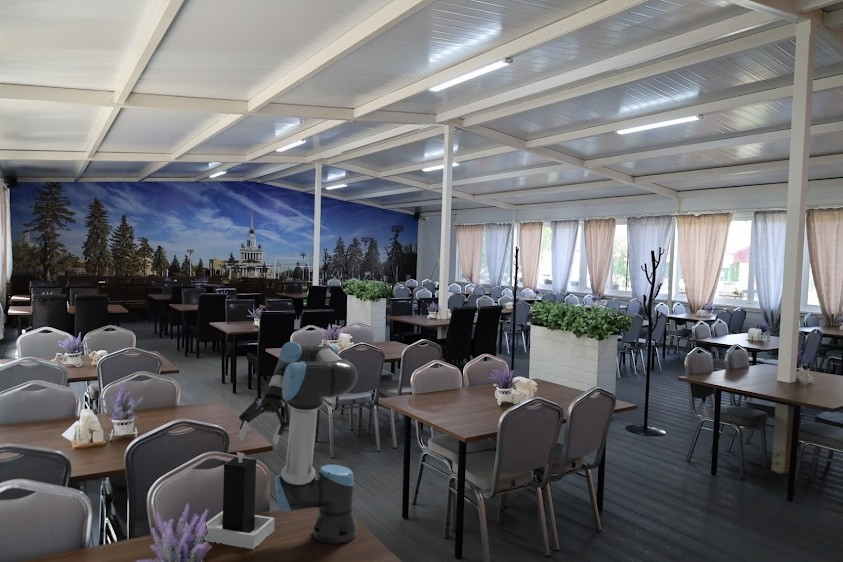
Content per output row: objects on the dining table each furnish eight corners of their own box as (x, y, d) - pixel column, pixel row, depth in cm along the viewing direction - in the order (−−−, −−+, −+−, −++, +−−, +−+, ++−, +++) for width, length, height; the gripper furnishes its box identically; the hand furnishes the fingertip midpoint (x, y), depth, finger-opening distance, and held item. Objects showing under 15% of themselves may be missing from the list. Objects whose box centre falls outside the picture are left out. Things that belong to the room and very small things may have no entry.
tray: (274, 530, 208) (274, 518, 208) (253, 549, 194) (253, 535, 194) (223, 522, 212) (223, 510, 212) (199, 540, 199) (200, 526, 199)
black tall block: (242, 539, 198) (245, 457, 197) (221, 536, 200) (223, 454, 199) (254, 529, 206) (256, 450, 205) (234, 526, 208) (236, 447, 206)
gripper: (310, 398, 226) (292, 449, 213) (251, 392, 232) (230, 441, 219) (304, 387, 221) (285, 439, 207) (244, 381, 227) (222, 432, 213)
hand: (257, 440), depth 213 cm, fingers open, 13 cm apart
